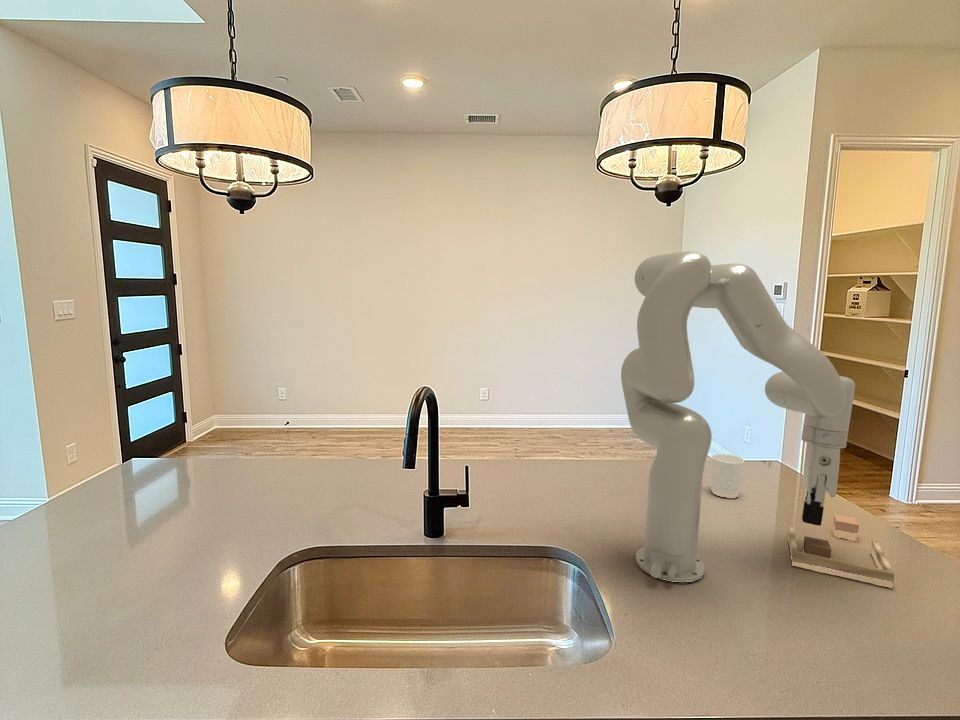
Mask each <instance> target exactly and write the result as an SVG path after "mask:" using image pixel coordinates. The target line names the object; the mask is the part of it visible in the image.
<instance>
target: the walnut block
mask: <svg viewBox="0 0 960 720" xmlns="http://www.w3.org/2000/svg"><path fill="white" fill-rule="evenodd" d="M803 549H804V553H808V554H813V555H817V556H822V557H827V558H831V556H832V555H831V554H832V548H831V546H830V542H829V540H826V539H821V538H817V537H810V536H804V538H803V546H802V550H803ZM831 559H832V558H831Z"/></svg>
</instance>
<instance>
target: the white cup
mask: <svg viewBox="0 0 960 720" xmlns="http://www.w3.org/2000/svg"><path fill="white" fill-rule="evenodd" d="M710 457H711V458H710V486H711V489H712V490H713V491H714V492H717V493H720V494H725V495H735V494H738V493H739V494H740V490H741V486H742V480H743V473H744V465H745V460H744V459H743V458H742V457H740V456H737V455H733V454H730V453H729V454H726V453H714V454H712V455H711V456H710ZM711 489H710V490H711Z"/></svg>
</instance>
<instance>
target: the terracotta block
mask: <svg viewBox="0 0 960 720" xmlns="http://www.w3.org/2000/svg"><path fill="white" fill-rule="evenodd" d="M833 524H834V527H835V530H841V531H845V532H850V533H858V534H859V527H860V525H859V522H858V520H857V518H856V517H851V516H846V515H841V514H835V513H834V514H833V521H832V525H833Z"/></svg>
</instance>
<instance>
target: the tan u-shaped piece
mask: <svg viewBox="0 0 960 720" xmlns="http://www.w3.org/2000/svg"><path fill="white" fill-rule="evenodd" d="M794 529H795V528H794V525H793V524H790V523H788V525H787V533H788V537H789V544H790V550H791V556H792V561H793V562H799V563H805V564H809V565H815V566H821V567H826V568H831V569H835V570H839V571H843V572H847V573H852V574H857V575H862V576H866V577H871V578H877V579H881V580H887V581H891V582H893V583H894V579H895V572H894V570H893V569H892V566H891V565H890V563H889V560H888V559H887V557H886V555H885V553H884V552H883V550H882V548H881V546H880V544H879V543H878V541H877V540H873V539H872V541H871V546H872V548H873V550H874V552H875V554H876V556H877V559H878V561H879V563H880V565H881V567H882V569H878V568H877V567H872V566H867V565H862V564H859V563H855V562H854V563H853V562H850V561H849V562H848V561H844V560H839V559H835V558H827V557H822V556H817V555H813V554H808V553H803V551H799V550H798V545H797V541H796V535H795V530H794Z"/></svg>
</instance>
